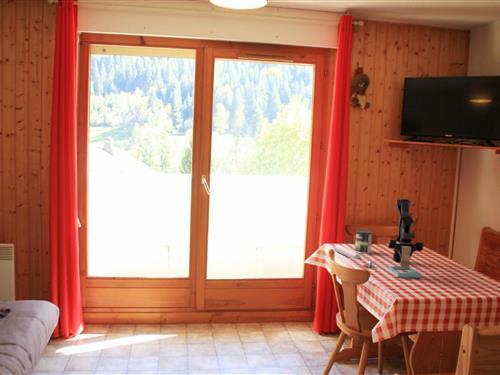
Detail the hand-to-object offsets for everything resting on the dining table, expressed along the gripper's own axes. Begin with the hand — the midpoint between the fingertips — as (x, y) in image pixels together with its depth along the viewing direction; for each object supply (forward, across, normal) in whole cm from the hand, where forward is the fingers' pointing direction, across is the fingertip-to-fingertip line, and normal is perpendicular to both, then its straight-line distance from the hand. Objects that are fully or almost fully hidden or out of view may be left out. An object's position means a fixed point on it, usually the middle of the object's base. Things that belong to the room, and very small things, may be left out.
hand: (405, 257), depth 284 cm
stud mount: (+3, -19, +11) cm, 22 cm away
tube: (-16, -32, +31) cm, 47 cm away
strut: (+3, 0, +4) cm, 5 cm away
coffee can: (-27, -23, +42) cm, 55 cm away
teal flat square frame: (+6, 0, +8) cm, 10 cm away
